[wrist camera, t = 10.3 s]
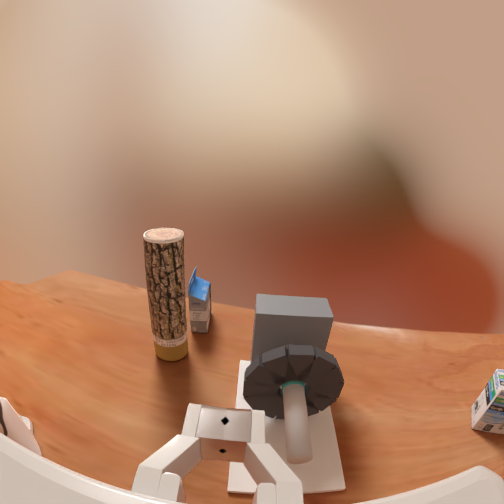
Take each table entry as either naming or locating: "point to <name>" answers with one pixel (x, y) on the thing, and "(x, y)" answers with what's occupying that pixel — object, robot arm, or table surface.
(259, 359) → the ring
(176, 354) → the paper tube
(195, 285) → the label tape box
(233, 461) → the robot arm
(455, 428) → the table surface
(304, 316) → the pipe rig
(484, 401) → the light bulb box
